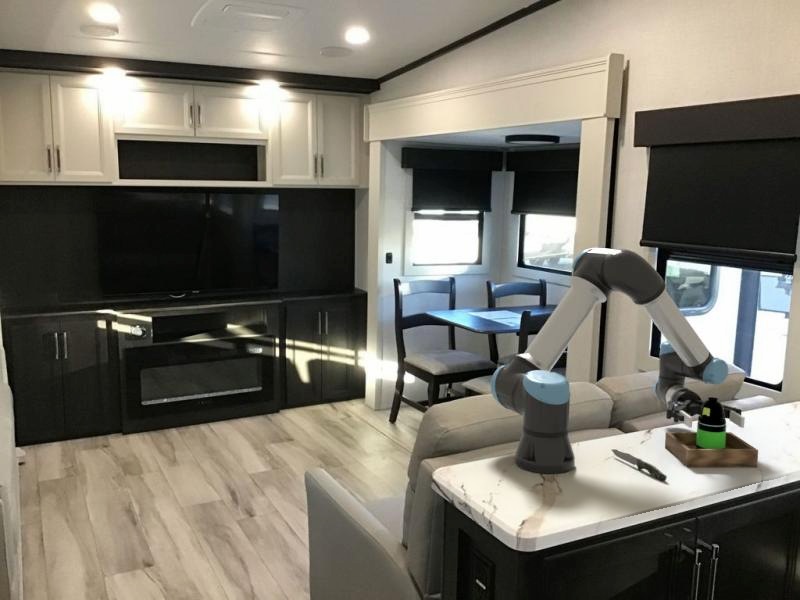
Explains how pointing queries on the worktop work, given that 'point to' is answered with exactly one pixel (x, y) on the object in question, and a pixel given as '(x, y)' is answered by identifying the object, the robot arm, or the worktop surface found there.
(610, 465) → the worktop surface
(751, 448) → the crate
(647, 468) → the knife
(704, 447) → the bottle
